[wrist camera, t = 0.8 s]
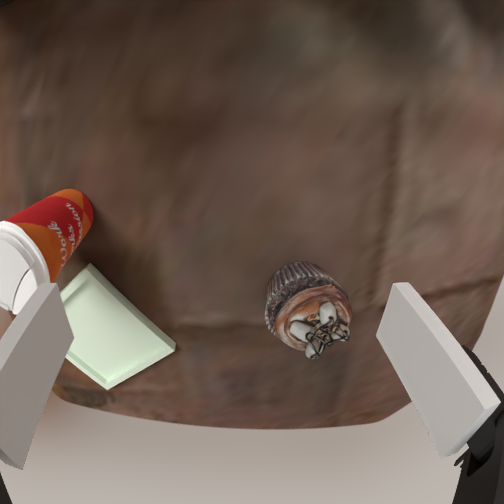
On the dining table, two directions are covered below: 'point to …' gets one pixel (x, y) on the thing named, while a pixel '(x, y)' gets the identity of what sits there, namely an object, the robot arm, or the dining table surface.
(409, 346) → the robot arm
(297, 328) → the cupcake
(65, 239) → the coffee cup
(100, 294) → the tray
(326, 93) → the dining table surface
